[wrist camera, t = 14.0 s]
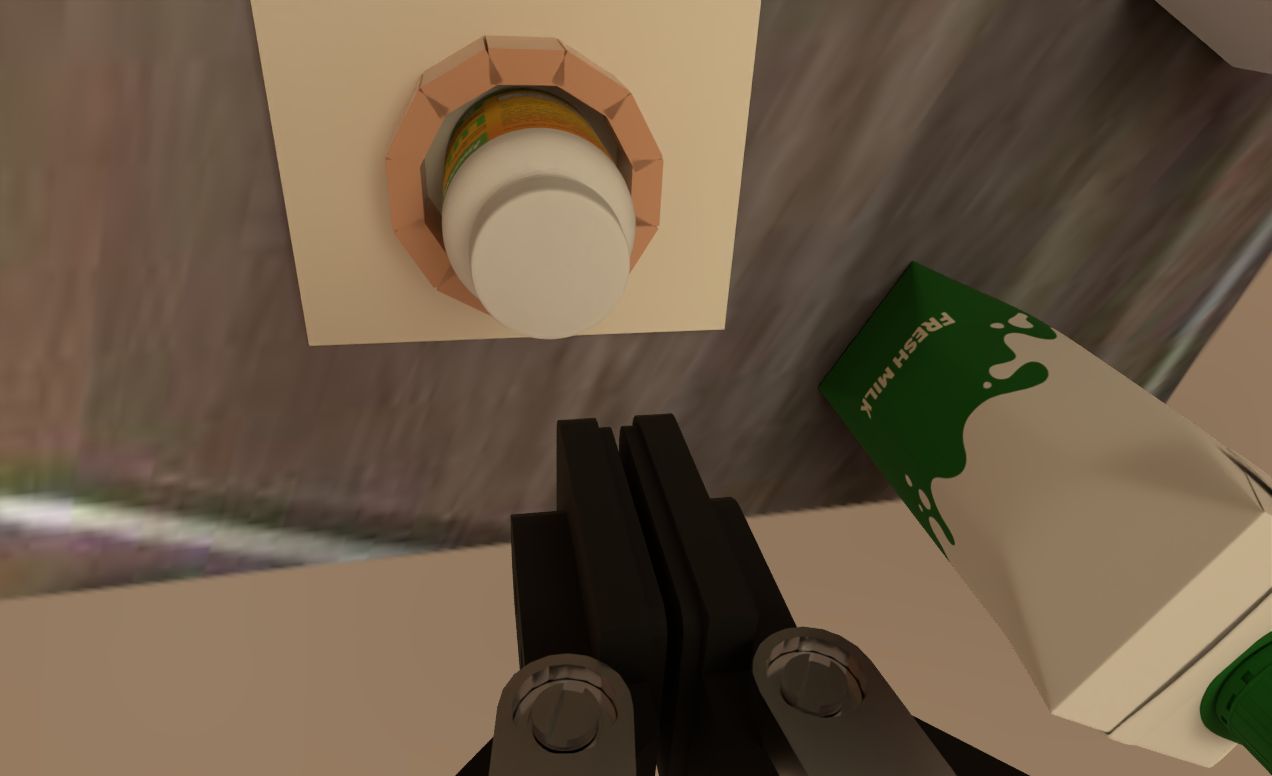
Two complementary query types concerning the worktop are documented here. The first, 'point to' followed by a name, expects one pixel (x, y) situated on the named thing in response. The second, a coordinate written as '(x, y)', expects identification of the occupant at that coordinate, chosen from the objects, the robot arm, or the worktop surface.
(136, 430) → the worktop surface
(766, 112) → the worktop surface
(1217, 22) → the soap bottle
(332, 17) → the coaster board
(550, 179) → the supplement bottle
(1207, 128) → the worktop surface
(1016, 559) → the milk carton
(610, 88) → the bottle collar
